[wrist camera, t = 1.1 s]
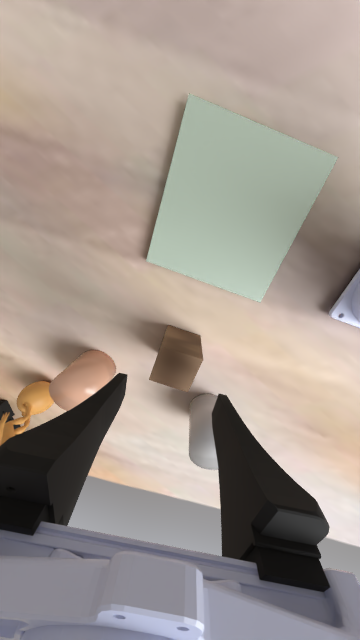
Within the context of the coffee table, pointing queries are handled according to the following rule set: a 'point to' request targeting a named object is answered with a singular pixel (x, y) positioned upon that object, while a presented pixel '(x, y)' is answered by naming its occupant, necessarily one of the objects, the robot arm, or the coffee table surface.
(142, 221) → the coffee table surface
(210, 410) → the grey stone cylinder
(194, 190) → the sage board
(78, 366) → the pink rounded capsule
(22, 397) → the figurine
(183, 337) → the walnut block
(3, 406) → the electronic device
